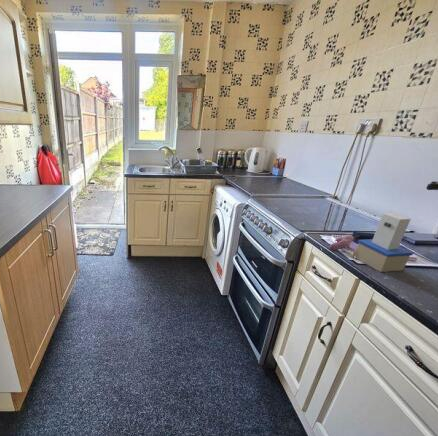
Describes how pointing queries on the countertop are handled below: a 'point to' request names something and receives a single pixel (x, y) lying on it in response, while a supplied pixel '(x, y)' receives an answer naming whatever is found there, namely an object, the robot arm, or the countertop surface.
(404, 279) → the countertop surface
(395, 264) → the container
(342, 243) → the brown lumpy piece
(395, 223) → the white case
